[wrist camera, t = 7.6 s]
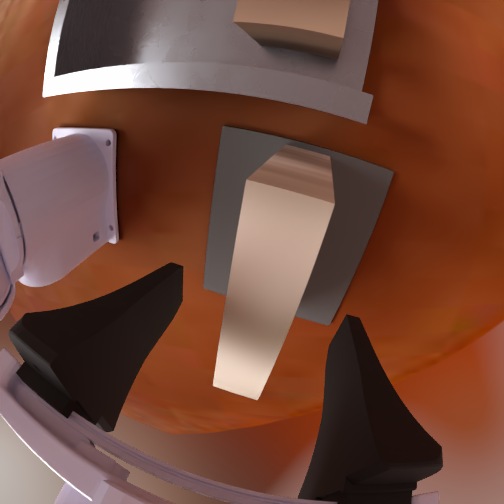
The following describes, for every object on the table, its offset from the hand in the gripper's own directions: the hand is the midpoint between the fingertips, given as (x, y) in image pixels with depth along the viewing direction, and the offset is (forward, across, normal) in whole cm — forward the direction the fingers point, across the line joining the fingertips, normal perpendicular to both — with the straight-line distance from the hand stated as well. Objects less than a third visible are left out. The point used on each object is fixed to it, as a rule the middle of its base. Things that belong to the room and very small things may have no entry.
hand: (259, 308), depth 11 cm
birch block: (+7, 0, 0) cm, 7 cm away
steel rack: (+7, +7, -17) cm, 20 cm away
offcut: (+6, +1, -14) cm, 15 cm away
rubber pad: (+7, 0, 0) cm, 7 cm away
